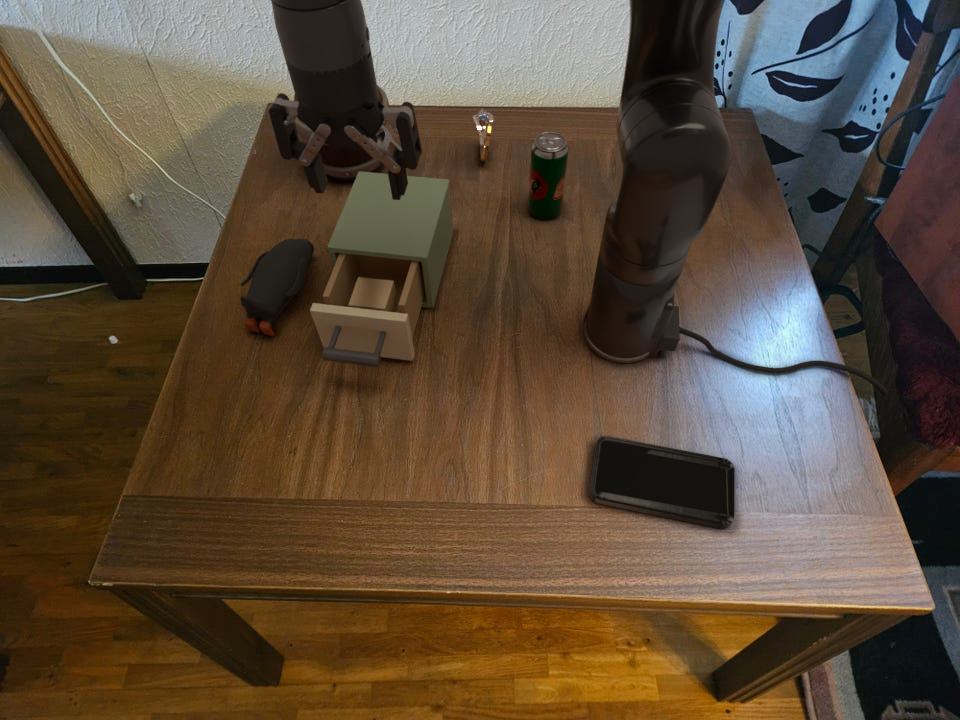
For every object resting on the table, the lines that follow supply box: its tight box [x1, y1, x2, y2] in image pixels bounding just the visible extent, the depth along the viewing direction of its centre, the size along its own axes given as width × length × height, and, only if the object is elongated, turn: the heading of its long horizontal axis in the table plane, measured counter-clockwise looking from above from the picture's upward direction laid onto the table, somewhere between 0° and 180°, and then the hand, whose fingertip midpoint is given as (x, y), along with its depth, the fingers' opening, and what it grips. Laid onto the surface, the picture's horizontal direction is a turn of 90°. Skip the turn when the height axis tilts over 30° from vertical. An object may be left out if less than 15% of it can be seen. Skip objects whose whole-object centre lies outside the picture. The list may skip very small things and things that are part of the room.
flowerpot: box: [292, 84, 390, 181], centre depth 94 cm, size 14×15×20 cm
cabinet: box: [326, 171, 454, 309], centre depth 85 cm, size 15×13×10 cm
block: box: [348, 277, 398, 312], centre depth 79 cm, size 5×5×5 cm
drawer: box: [309, 253, 425, 368], centre depth 78 cm, size 18×11×8 cm, turn 171°
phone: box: [588, 435, 736, 530], centre depth 69 cm, size 8×1×15 cm
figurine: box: [240, 238, 315, 337], centre depth 83 cm, size 7×10×15 cm
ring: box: [472, 108, 495, 162], centre depth 99 cm, size 7×3×8 cm, turn 178°
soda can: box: [527, 131, 570, 220], centre depth 90 cm, size 5×5×12 cm
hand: (360, 191), depth 69 cm, fingers open, 8 cm apart
